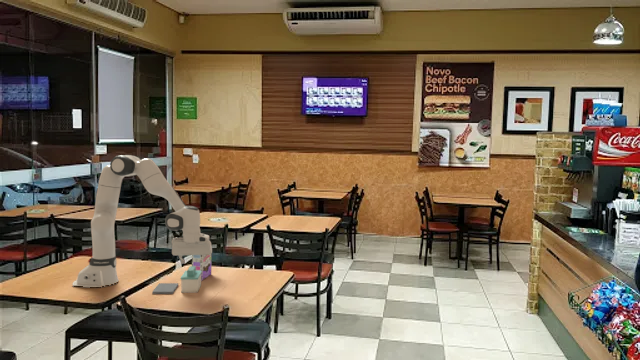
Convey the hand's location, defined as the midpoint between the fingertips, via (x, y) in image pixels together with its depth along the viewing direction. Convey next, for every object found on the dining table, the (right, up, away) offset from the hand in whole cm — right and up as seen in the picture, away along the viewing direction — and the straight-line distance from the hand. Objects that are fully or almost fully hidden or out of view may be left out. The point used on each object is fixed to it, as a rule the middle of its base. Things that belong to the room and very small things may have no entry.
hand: (192, 263), depth 251 cm
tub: (-1, -14, +1) cm, 14 cm away
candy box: (0, -12, +22) cm, 25 cm away
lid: (-1, -8, 0) cm, 8 cm away
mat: (-14, -14, -1) cm, 19 cm away
